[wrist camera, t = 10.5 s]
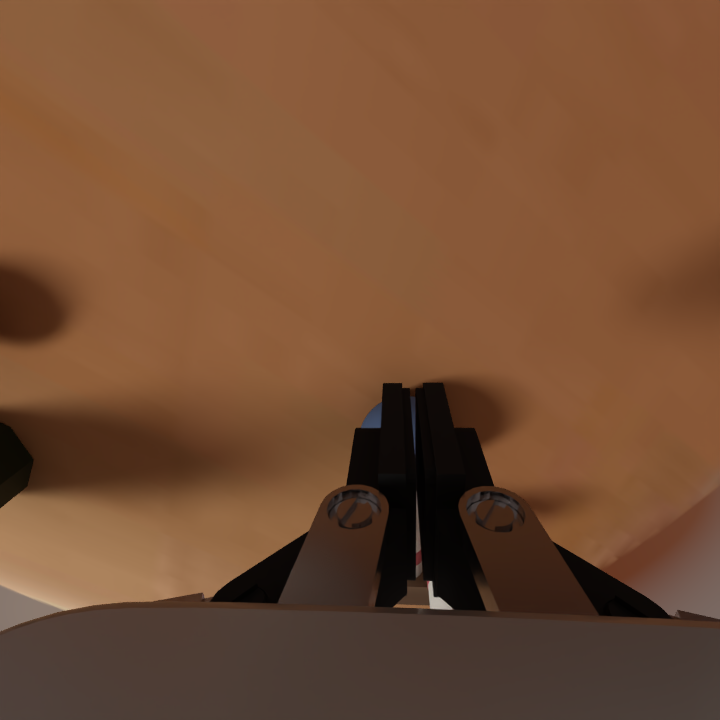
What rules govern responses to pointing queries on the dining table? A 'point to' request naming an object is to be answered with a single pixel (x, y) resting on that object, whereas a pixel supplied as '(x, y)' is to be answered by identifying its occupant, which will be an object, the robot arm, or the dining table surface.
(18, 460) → the wine bottle
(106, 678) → the robot arm
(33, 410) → the dining table surface
